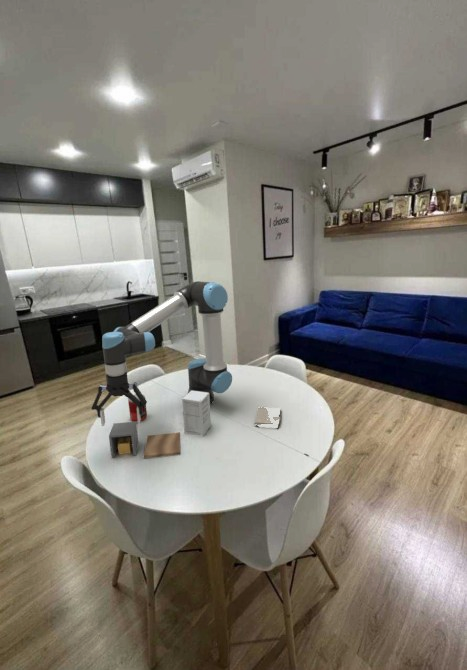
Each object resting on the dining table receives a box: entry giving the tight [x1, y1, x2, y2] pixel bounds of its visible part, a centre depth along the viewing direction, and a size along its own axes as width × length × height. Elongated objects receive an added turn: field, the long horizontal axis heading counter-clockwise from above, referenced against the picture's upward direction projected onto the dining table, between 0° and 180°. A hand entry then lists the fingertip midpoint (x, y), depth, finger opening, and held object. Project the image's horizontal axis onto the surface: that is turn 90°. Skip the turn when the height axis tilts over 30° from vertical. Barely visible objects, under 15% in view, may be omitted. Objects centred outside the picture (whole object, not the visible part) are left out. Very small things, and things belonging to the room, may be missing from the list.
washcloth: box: [254, 406, 279, 425], centre depth 146 cm, size 12×18×3 cm, turn 170°
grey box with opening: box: [108, 421, 139, 459], centre depth 122 cm, size 9×9×10 cm
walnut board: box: [143, 431, 181, 459], centre depth 126 cm, size 14×14×1 cm
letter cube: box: [117, 437, 133, 455], centre depth 123 cm, size 4×4×5 cm
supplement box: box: [181, 390, 212, 437], centre depth 136 cm, size 10×9×17 cm
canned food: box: [127, 393, 148, 423], centre depth 146 cm, size 8×8×11 cm
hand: (121, 422), depth 120 cm, fingers open, 13 cm apart
